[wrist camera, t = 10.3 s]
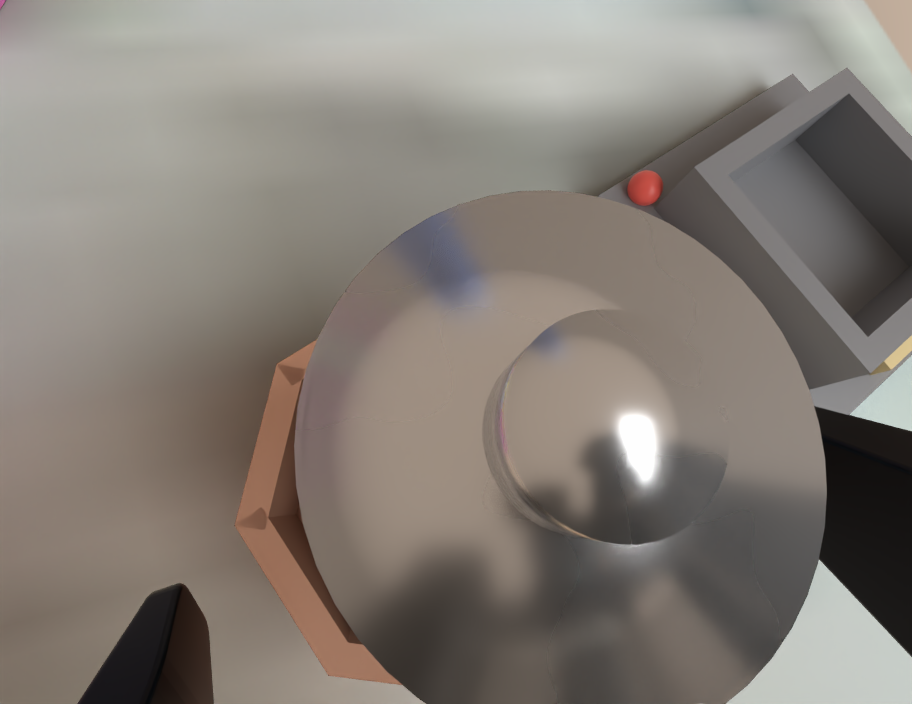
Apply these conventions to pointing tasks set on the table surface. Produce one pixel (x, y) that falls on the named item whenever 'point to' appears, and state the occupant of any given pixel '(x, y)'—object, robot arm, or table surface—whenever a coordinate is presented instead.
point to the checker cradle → (804, 223)
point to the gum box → (0, 1)
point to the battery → (559, 460)
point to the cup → (295, 533)
